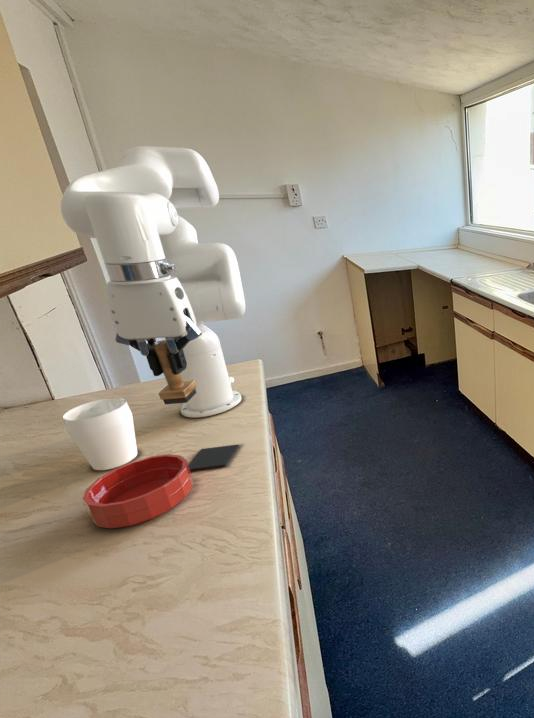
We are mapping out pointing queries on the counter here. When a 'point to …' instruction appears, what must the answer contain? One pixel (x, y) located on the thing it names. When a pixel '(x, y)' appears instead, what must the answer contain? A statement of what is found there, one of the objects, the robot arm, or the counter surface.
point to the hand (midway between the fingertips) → (170, 371)
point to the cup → (103, 432)
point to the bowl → (138, 491)
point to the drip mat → (213, 457)
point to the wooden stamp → (172, 379)
